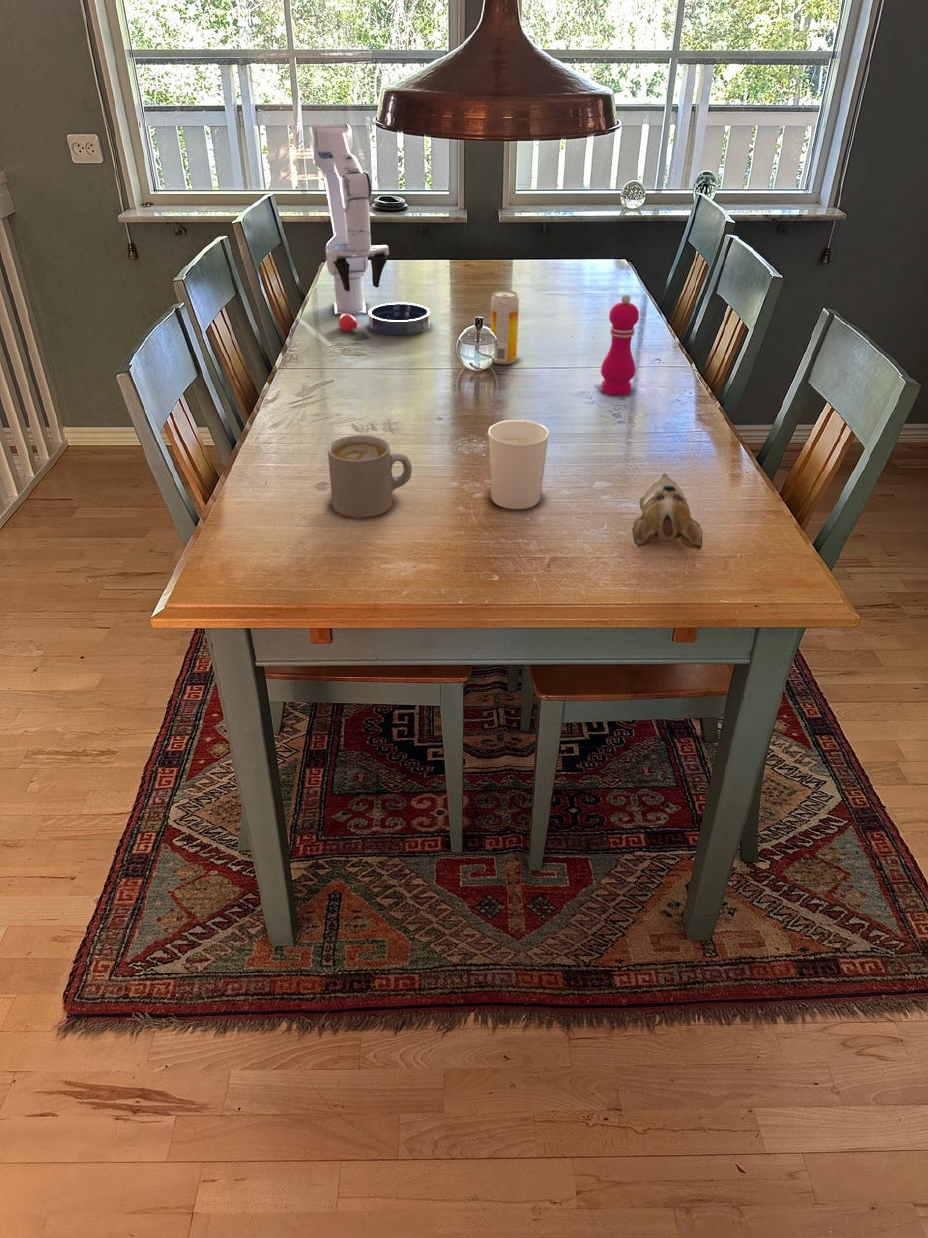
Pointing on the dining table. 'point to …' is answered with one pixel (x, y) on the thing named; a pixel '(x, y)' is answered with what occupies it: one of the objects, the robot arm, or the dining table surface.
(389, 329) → the bowl
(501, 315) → the beer can
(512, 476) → the white cup
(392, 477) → the coffee mug
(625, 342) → the pepper mill
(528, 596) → the dining table surface
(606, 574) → the dining table surface
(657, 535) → the ceramic sculpture
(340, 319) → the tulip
